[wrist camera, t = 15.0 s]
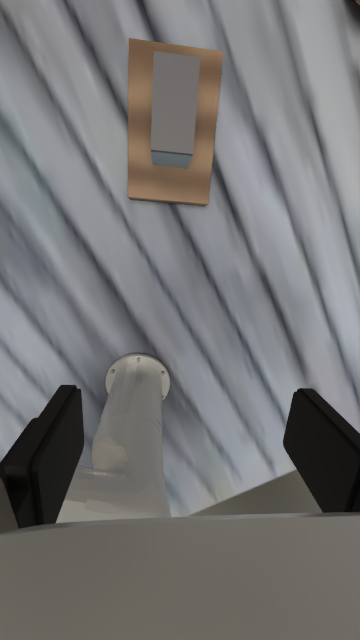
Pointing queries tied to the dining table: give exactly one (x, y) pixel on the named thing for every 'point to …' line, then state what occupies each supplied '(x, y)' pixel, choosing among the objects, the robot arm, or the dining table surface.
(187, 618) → the robot arm
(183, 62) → the block
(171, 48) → the stand
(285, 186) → the dining table surface
